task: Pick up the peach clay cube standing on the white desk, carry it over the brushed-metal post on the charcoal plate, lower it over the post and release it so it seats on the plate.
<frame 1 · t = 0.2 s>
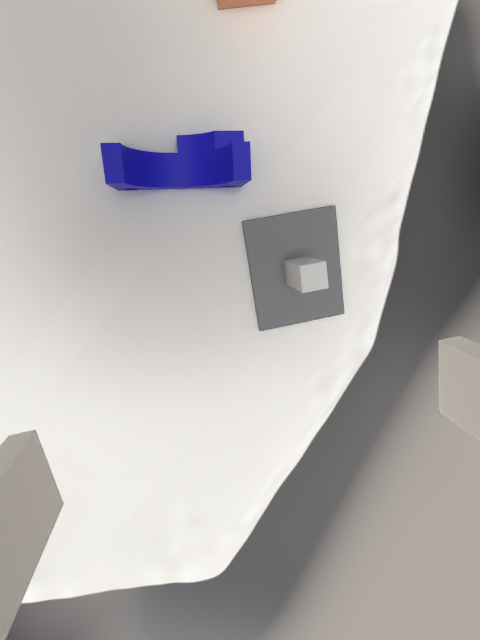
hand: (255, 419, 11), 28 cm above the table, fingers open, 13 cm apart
blue arch bracket: (179, 164, 35), on the table
stand: (294, 269, 39), on the table
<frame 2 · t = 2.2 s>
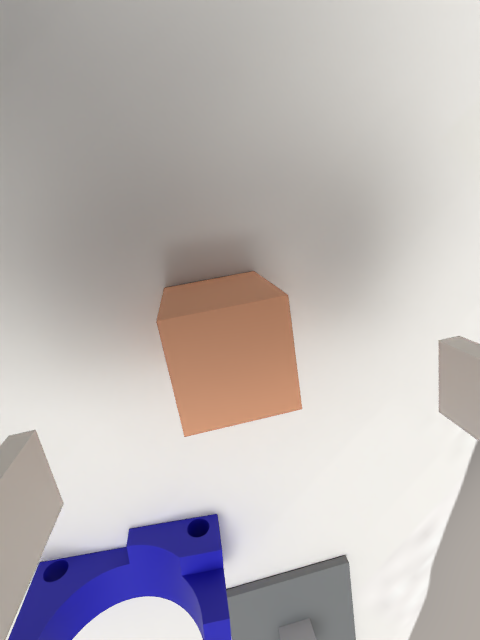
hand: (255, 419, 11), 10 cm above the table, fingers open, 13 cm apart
peach clay cube: (217, 322, 21), on the table
blue arch bracket: (134, 549, 25), on the table
stand: (293, 625, 29), on the table
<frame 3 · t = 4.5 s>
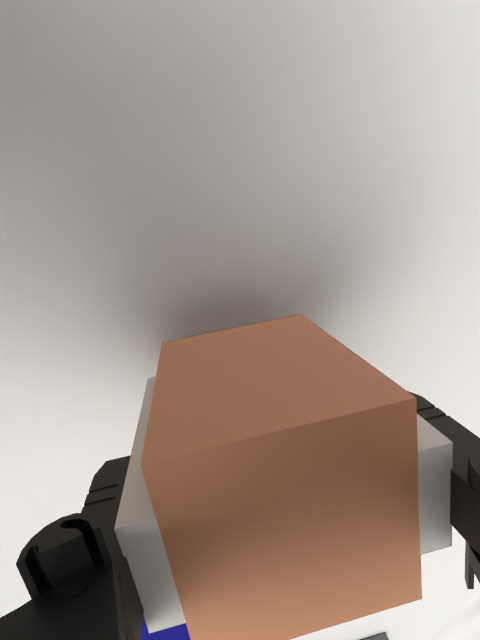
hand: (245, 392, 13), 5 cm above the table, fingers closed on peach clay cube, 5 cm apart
peach clay cube: (244, 391, 14), point 4 cm above the table, touching gripper
blue arch bracket: (144, 638, 21), on the table
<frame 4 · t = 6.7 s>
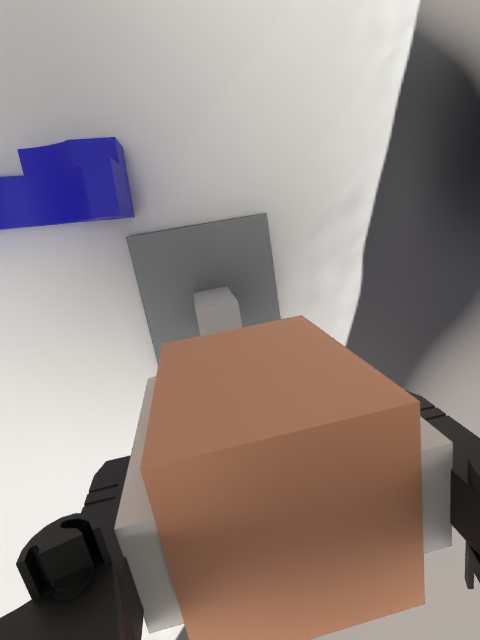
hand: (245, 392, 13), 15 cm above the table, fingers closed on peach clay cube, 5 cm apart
peach clay cube: (244, 393, 13), point 14 cm above the table, touching gripper
blue arch bracket: (37, 190, 24), on the table
stand: (212, 304, 27), on the table
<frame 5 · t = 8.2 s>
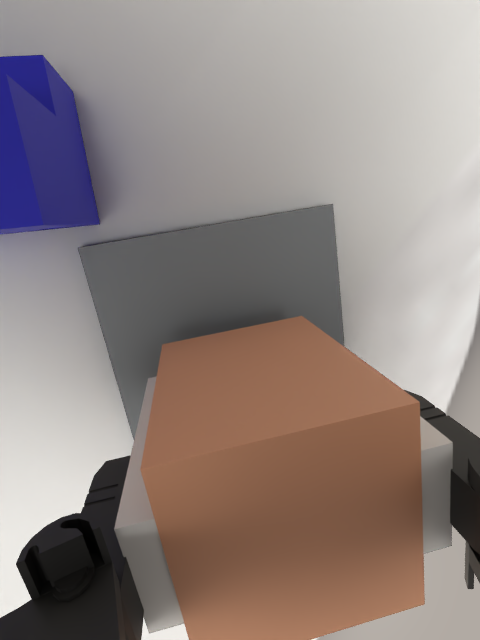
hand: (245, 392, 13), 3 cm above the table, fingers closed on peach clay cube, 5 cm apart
peach clay cube: (244, 393, 13), point 3 cm above the table, touching gripper
stand: (233, 360, 16), on the table
when the fingers open (2 cm above the table, at t = 9.1 s): peach clay cube stays where it is, resting on stand.
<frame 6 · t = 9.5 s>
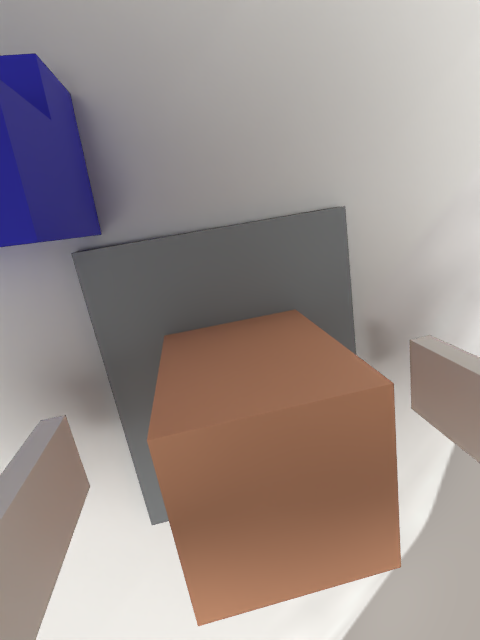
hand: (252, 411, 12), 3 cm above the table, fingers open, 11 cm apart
peach clay cube: (241, 382, 14), point 1 cm above the table, touching stand
stand: (238, 372, 15), on the table
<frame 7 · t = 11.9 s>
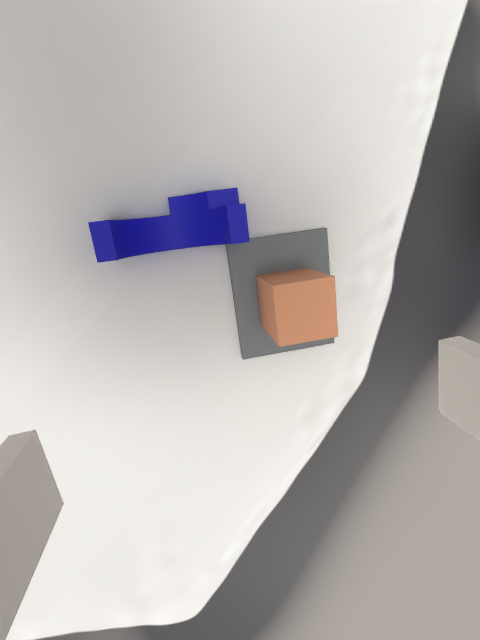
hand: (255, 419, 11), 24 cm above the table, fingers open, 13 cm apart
peach clay cube: (284, 297, 36), point 1 cm above the table, touching stand
blue arch bracket: (172, 224, 33), on the table
stand: (282, 294, 36), on the table
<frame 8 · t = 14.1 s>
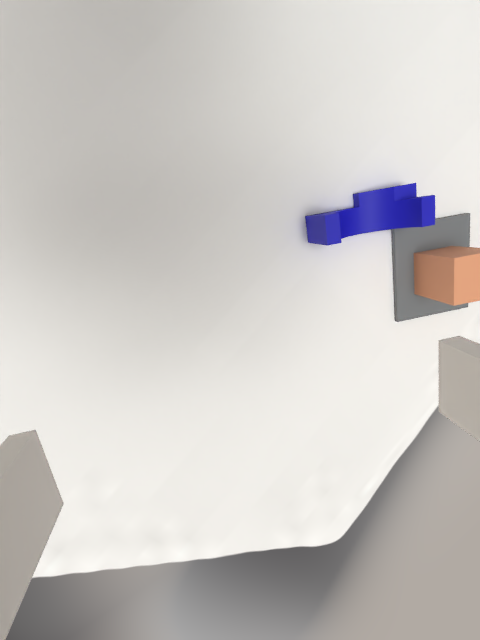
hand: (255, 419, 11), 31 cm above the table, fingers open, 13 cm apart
peach clay cube: (433, 270, 44), point 1 cm above the table, touching stand
blue arch bracket: (353, 214, 42), on the table
stand: (429, 268, 45), on the table
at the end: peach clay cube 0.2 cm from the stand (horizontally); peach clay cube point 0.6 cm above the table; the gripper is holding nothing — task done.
